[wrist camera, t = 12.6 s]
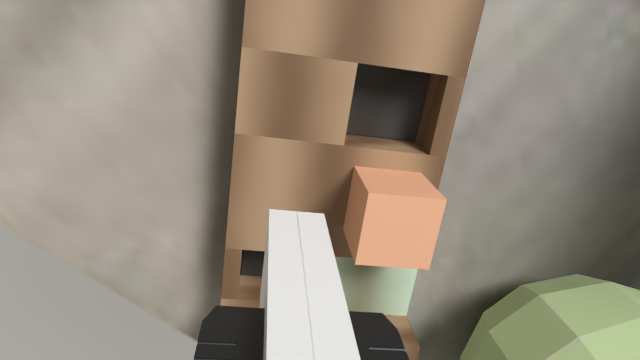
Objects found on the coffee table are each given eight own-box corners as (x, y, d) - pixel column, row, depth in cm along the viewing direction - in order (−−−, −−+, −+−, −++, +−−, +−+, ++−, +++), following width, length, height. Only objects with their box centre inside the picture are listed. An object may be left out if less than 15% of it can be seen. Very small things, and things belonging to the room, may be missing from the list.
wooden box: (471, -38, 25) (528, -52, 19) (391, 301, 33) (416, 361, 27) (254, -78, 23) (250, -105, 18) (223, 290, 31) (213, 353, 25)
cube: (421, 172, 26) (447, 199, 22) (407, 234, 27) (429, 269, 24) (354, 166, 25) (368, 192, 22) (343, 229, 27) (354, 264, 23)
